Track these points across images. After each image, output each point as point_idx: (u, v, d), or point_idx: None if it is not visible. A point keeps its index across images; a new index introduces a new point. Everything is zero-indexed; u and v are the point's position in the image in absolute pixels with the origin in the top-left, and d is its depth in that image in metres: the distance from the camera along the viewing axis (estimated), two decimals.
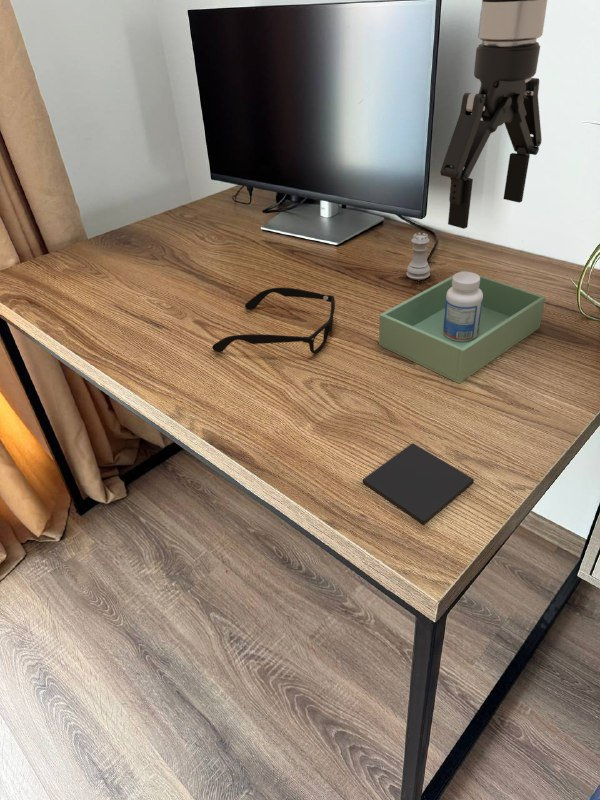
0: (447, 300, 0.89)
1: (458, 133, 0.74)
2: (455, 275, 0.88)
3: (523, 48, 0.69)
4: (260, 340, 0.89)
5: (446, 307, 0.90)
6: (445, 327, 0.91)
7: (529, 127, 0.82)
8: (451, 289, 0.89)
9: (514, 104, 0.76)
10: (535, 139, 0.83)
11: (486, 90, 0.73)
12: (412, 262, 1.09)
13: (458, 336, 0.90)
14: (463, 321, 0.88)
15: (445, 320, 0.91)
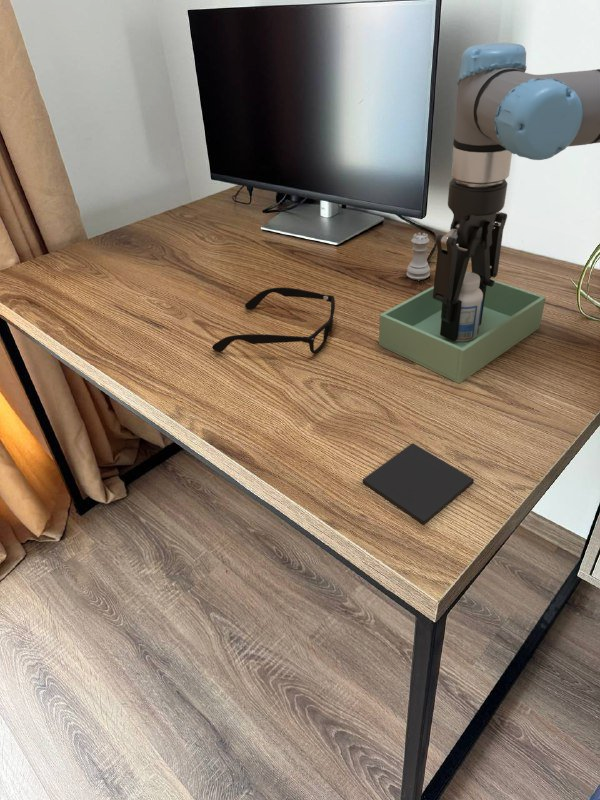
0: None
1: (440, 268, 0.82)
2: None
3: (491, 189, 0.76)
4: (260, 340, 0.89)
5: None
6: None
7: (490, 256, 0.88)
8: None
9: (485, 230, 0.82)
10: (493, 269, 0.89)
11: (458, 222, 0.79)
12: (412, 262, 1.09)
13: (458, 336, 0.90)
14: (463, 321, 0.88)
15: None
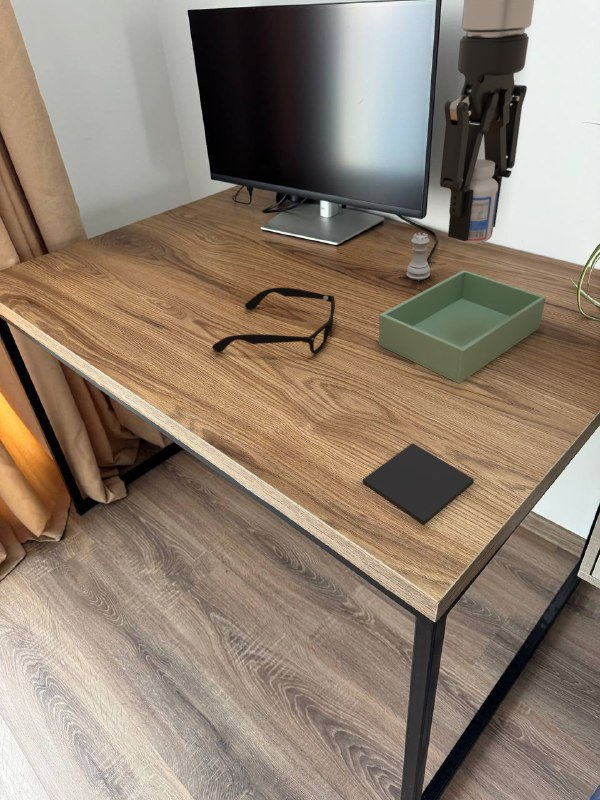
0: None
1: (449, 144, 0.70)
2: None
3: (510, 39, 0.64)
4: (260, 340, 0.89)
5: None
6: None
7: (506, 142, 0.76)
8: None
9: (501, 101, 0.70)
10: (509, 157, 0.77)
11: (470, 85, 0.67)
12: (412, 262, 1.09)
13: (469, 236, 0.78)
14: (475, 217, 0.76)
15: None
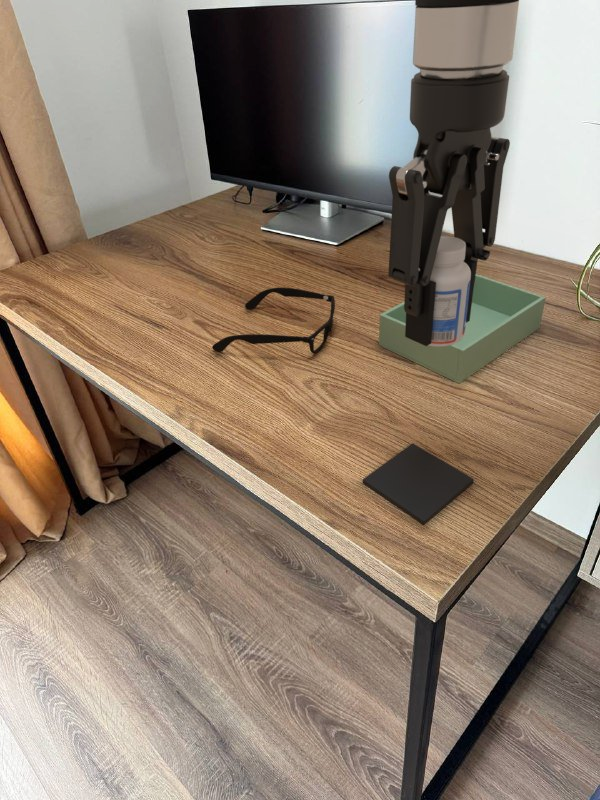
0: None
1: (397, 225, 0.49)
2: None
3: (480, 82, 0.43)
4: (260, 340, 0.89)
5: None
6: None
7: (482, 213, 0.56)
8: None
9: (473, 163, 0.50)
10: (487, 233, 0.56)
11: (426, 144, 0.47)
12: None
13: (432, 338, 0.57)
14: (440, 315, 0.56)
15: None
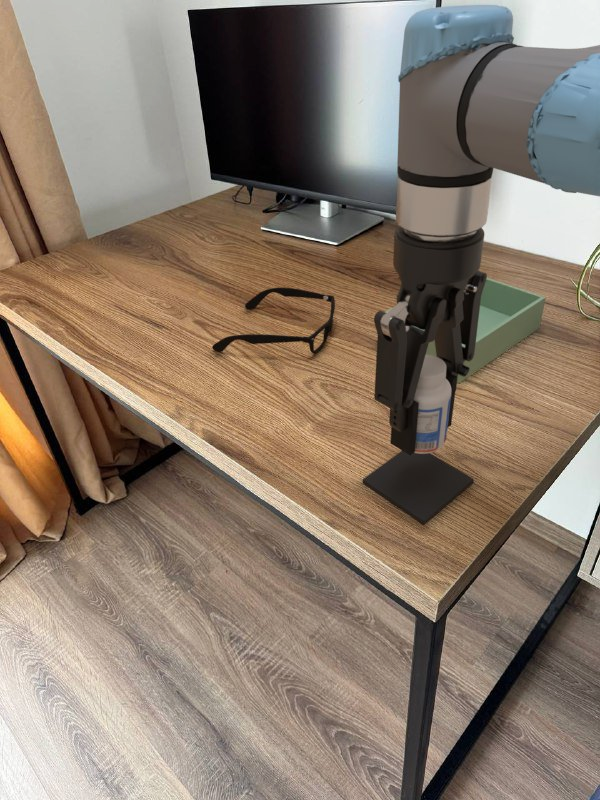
0: None
1: (382, 360, 0.53)
2: None
3: (457, 245, 0.47)
4: (260, 340, 0.89)
5: None
6: None
7: (462, 333, 0.60)
8: None
9: (452, 301, 0.53)
10: (467, 351, 0.60)
11: (408, 292, 0.51)
12: None
13: (416, 447, 0.61)
14: (423, 428, 0.60)
15: None
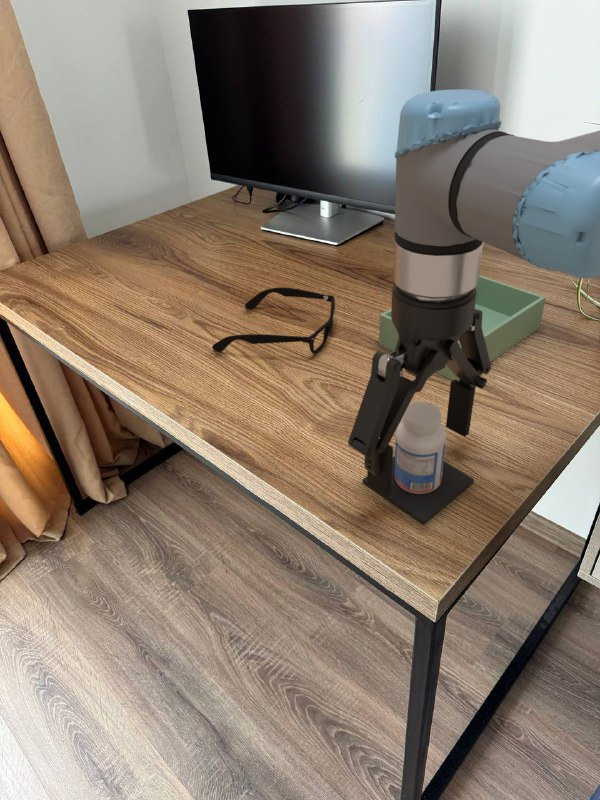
0: (397, 441, 0.64)
1: (369, 401, 0.54)
2: (407, 408, 0.62)
3: (451, 305, 0.50)
4: (260, 340, 0.89)
5: (396, 449, 0.64)
6: (396, 472, 0.66)
7: (473, 356, 0.63)
8: (402, 426, 0.64)
9: (447, 352, 0.57)
10: (482, 368, 0.64)
11: (405, 345, 0.54)
12: None
13: (413, 488, 0.65)
14: (419, 471, 0.63)
15: (395, 464, 0.66)
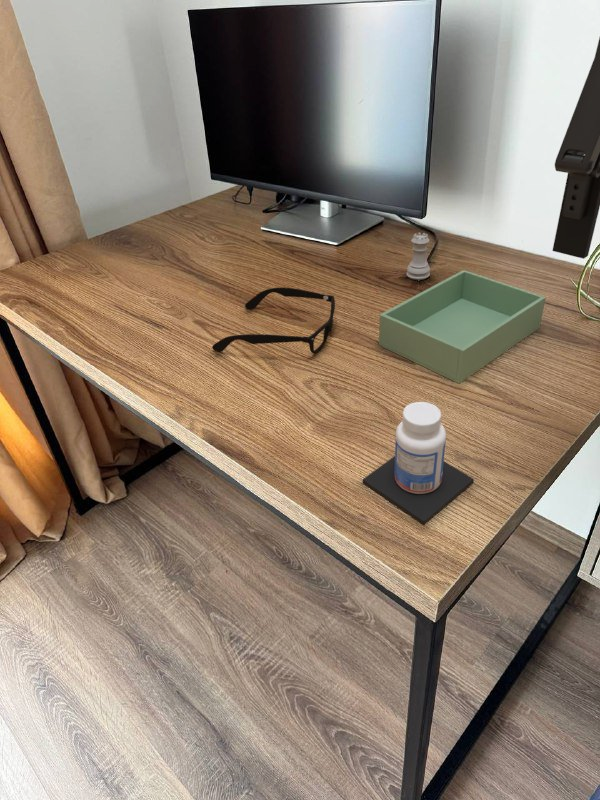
0: (397, 441, 0.64)
1: (591, 93, 0.41)
2: (407, 408, 0.62)
3: None
4: (260, 340, 0.89)
5: (396, 449, 0.64)
6: (396, 472, 0.66)
7: None
8: (402, 426, 0.64)
9: None
10: None
11: None
12: (412, 262, 1.09)
13: (413, 488, 0.65)
14: (419, 471, 0.63)
15: (395, 464, 0.66)
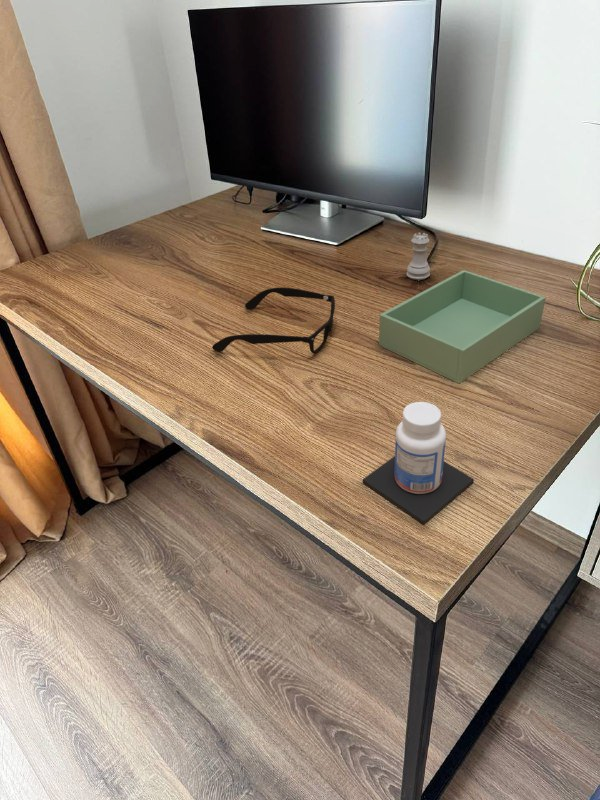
0: (397, 441, 0.64)
1: None
2: (407, 408, 0.62)
3: None
4: (260, 340, 0.89)
5: (396, 449, 0.64)
6: (396, 472, 0.66)
7: None
8: (402, 426, 0.64)
9: None
10: None
11: None
12: (412, 262, 1.09)
13: (413, 488, 0.65)
14: (419, 471, 0.63)
15: (395, 464, 0.66)
